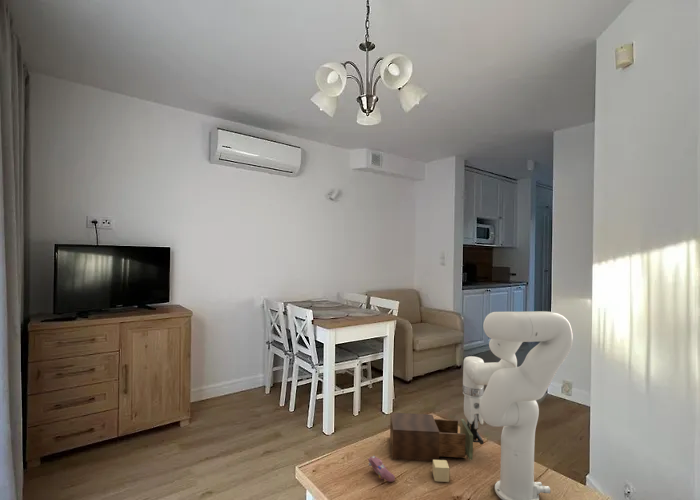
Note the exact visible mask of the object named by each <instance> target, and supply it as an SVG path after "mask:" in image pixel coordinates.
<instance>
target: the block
mask: <svg viewBox="0 0 700 500" xmlns="http://www.w3.org/2000/svg"><path fill="white" fill-rule="evenodd" d="M432 477H433V480H434V482H441V483H442V482H443V483H449V482H450V467H449V463H448V461H447V460H446V459H439V460H433V461H432Z"/></svg>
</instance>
